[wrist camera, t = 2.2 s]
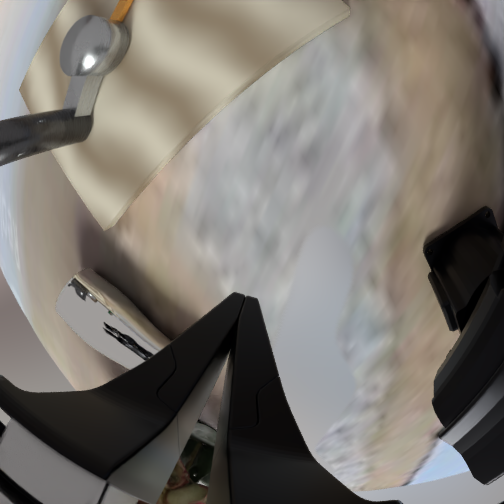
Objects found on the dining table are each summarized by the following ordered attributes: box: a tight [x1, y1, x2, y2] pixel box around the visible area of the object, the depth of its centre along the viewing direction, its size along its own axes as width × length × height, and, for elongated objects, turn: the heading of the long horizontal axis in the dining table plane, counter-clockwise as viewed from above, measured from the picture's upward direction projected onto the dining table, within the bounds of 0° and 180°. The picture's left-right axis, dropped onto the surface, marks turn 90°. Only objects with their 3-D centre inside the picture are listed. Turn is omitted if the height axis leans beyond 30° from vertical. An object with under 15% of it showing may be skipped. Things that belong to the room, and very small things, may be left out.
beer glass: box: [56, 268, 172, 370], centre depth 26 cm, size 7×7×15 cm
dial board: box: [19, 0, 350, 231], centre depth 15 cm, size 26×22×2 cm
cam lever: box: [0, 0, 133, 166], centre depth 10 cm, size 18×5×11 cm, turn 152°
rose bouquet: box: [137, 422, 217, 504], centre depth 30 cm, size 26×29×30 cm
